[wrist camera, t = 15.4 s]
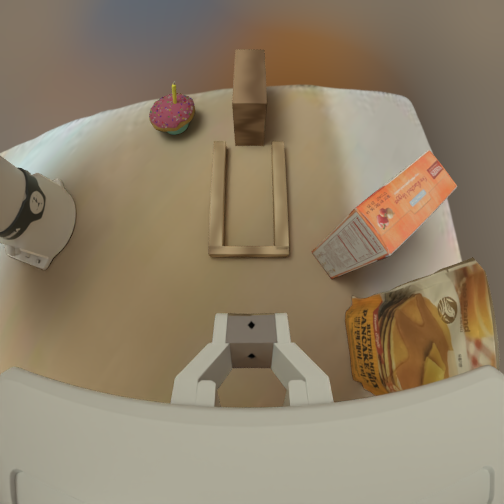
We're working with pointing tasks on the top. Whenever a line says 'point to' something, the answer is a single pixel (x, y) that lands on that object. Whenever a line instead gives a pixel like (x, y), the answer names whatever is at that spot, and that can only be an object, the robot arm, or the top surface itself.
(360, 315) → the pancake mix bag
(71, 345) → the top surface
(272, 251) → the chute
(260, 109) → the block
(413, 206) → the cracker box
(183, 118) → the cupcake
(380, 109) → the top surface
